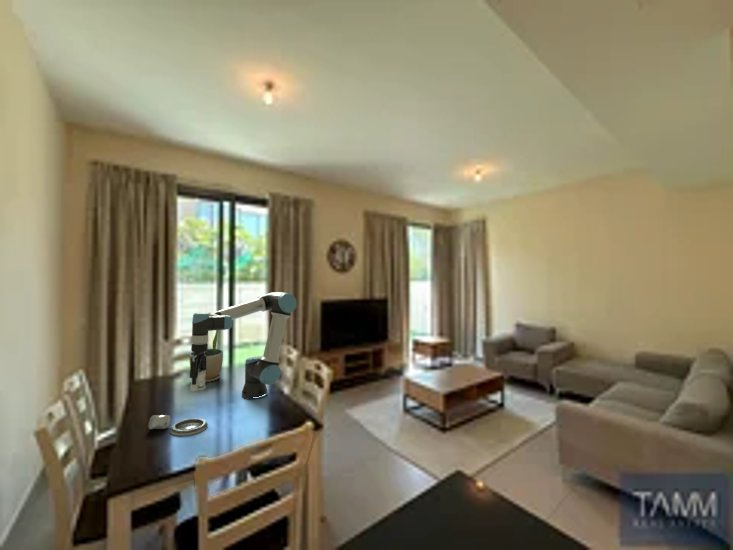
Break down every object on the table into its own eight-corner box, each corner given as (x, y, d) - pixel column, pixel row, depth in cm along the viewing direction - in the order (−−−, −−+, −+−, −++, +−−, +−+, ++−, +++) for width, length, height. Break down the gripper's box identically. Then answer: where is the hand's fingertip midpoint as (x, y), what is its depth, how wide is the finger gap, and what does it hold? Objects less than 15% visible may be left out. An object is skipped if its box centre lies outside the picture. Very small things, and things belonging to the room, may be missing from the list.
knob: (207, 386, 180) (208, 369, 181) (202, 391, 173) (202, 373, 173) (193, 386, 180) (194, 369, 180) (187, 390, 173) (188, 372, 173)
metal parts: (212, 421, 174) (212, 408, 174) (199, 436, 158) (200, 422, 158) (160, 421, 172) (160, 409, 172) (142, 436, 156) (142, 423, 156)
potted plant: (187, 386, 226) (188, 325, 226) (189, 377, 245) (191, 320, 245) (222, 383, 234) (223, 323, 234) (221, 374, 254) (223, 319, 254)
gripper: (200, 339, 187) (198, 382, 186) (182, 346, 167) (180, 394, 166) (214, 339, 187) (212, 382, 187) (198, 347, 167) (196, 394, 167)
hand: (197, 388), depth 177 cm, fingers closed on knob, 7 cm apart
